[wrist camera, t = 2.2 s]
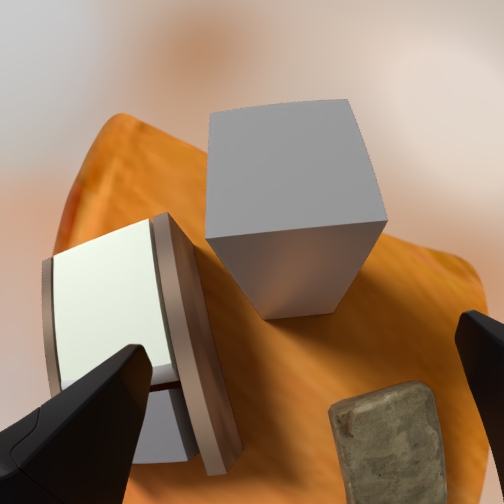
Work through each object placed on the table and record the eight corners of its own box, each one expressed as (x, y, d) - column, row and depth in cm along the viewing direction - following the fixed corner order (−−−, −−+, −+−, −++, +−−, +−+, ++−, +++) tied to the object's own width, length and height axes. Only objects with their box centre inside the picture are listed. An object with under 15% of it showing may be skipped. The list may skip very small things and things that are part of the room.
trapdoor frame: (243, 449, 16) (226, 473, 12) (111, 460, 17) (70, 473, 12) (193, 244, 22) (167, 211, 18) (80, 281, 23) (42, 261, 18)
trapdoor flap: (215, 444, 15) (196, 460, 12) (110, 452, 16) (79, 461, 12) (169, 241, 21) (147, 217, 18) (82, 272, 21) (53, 255, 18)
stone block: (403, 374, 17) (434, 375, 12) (426, 506, 12) (453, 532, 8) (320, 402, 17) (329, 415, 12) (351, 534, 13) (362, 570, 8)
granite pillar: (332, 312, 19) (388, 220, 7) (262, 319, 19) (205, 238, 8) (324, 247, 21) (347, 99, 9) (258, 254, 21) (210, 113, 9)
